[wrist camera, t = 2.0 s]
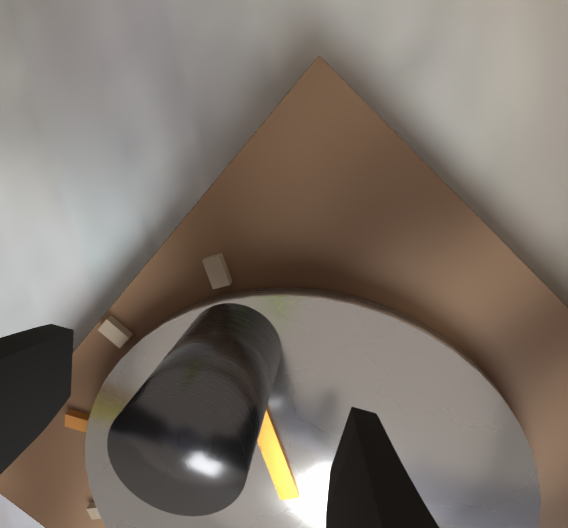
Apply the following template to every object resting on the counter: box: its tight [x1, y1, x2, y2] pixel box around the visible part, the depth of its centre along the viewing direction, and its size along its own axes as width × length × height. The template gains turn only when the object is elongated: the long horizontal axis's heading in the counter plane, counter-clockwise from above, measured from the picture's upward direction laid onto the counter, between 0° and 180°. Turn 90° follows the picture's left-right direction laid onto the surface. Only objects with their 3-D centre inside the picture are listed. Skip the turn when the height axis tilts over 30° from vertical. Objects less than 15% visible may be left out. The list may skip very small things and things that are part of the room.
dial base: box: [0, 56, 568, 528], centre depth 15 cm, size 19×22×2 cm
